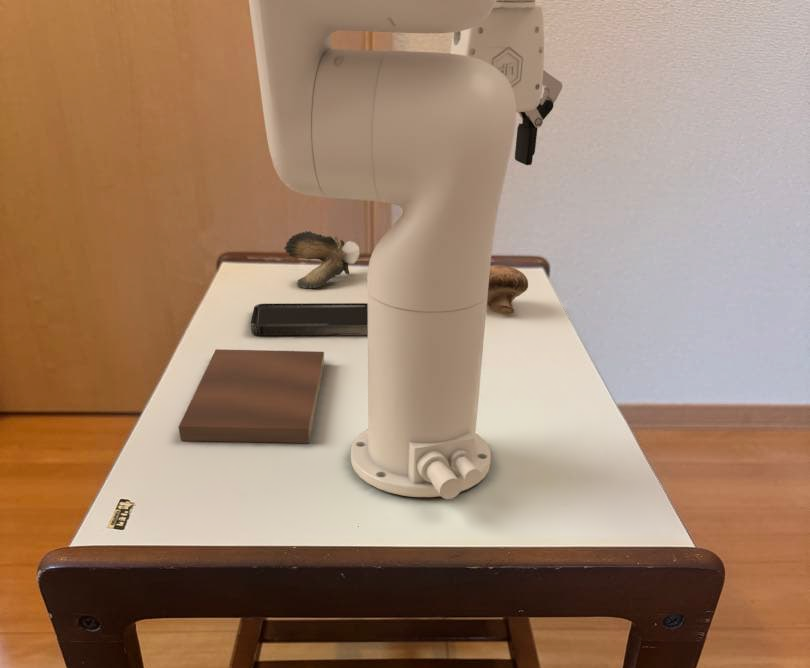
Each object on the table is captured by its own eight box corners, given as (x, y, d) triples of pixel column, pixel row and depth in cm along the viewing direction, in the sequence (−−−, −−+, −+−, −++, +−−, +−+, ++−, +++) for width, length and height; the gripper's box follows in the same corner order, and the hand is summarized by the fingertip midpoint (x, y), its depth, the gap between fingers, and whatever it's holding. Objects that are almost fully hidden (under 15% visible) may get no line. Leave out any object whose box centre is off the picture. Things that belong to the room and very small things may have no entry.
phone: (254, 303, 100) (373, 302, 101) (255, 312, 100) (373, 311, 101) (249, 326, 93) (376, 326, 94) (250, 336, 94) (376, 335, 95)
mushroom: (528, 300, 97) (517, 250, 97) (466, 320, 99) (455, 271, 99) (538, 312, 104) (527, 265, 104) (480, 329, 107) (470, 284, 107)
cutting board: (309, 443, 74) (308, 429, 73) (180, 440, 74) (178, 426, 73) (324, 364, 88) (324, 351, 87) (217, 361, 88) (215, 349, 87)
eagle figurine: (323, 256, 116) (275, 257, 110) (345, 219, 111) (296, 217, 105) (349, 296, 114) (302, 299, 108) (373, 260, 109) (325, 261, 103)
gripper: (440, -9, 78) (432, 177, 88) (590, -8, 83) (566, 167, 94) (411, -13, 83) (407, 163, 94) (553, -12, 89) (535, 154, 99)
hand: (487, 165), depth 94 cm, fingers open, 9 cm apart
